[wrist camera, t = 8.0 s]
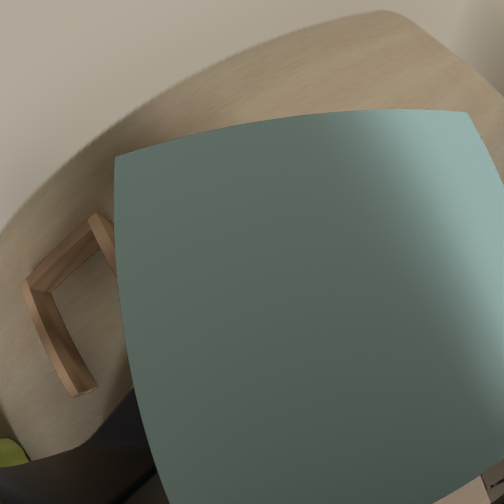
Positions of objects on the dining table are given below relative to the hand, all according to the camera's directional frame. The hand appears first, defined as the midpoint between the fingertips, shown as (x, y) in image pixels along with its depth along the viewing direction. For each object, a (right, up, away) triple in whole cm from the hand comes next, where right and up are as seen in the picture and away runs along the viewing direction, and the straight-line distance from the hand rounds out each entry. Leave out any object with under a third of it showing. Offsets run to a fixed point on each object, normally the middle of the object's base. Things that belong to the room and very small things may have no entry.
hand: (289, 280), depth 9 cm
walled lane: (-14, -4, +13) cm, 19 cm away
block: (+1, -3, +6) cm, 7 cm away
